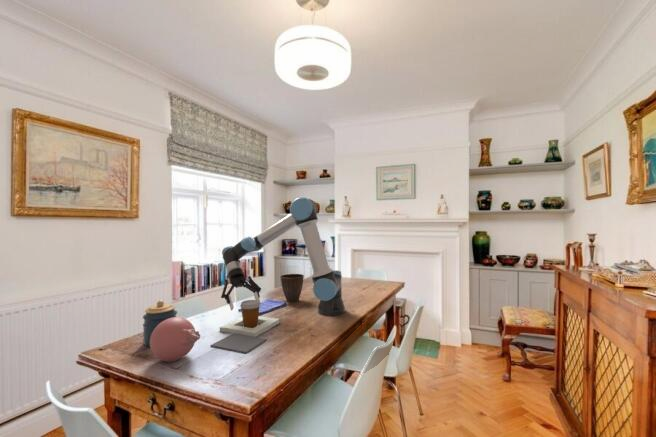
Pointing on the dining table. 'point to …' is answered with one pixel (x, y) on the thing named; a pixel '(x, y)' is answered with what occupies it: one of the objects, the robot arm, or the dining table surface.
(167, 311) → the canister
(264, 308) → the dish towel
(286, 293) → the plant pot
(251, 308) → the disposable coffee cup
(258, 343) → the rubber mat
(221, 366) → the dining table surface
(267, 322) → the holder board
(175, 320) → the balloon
